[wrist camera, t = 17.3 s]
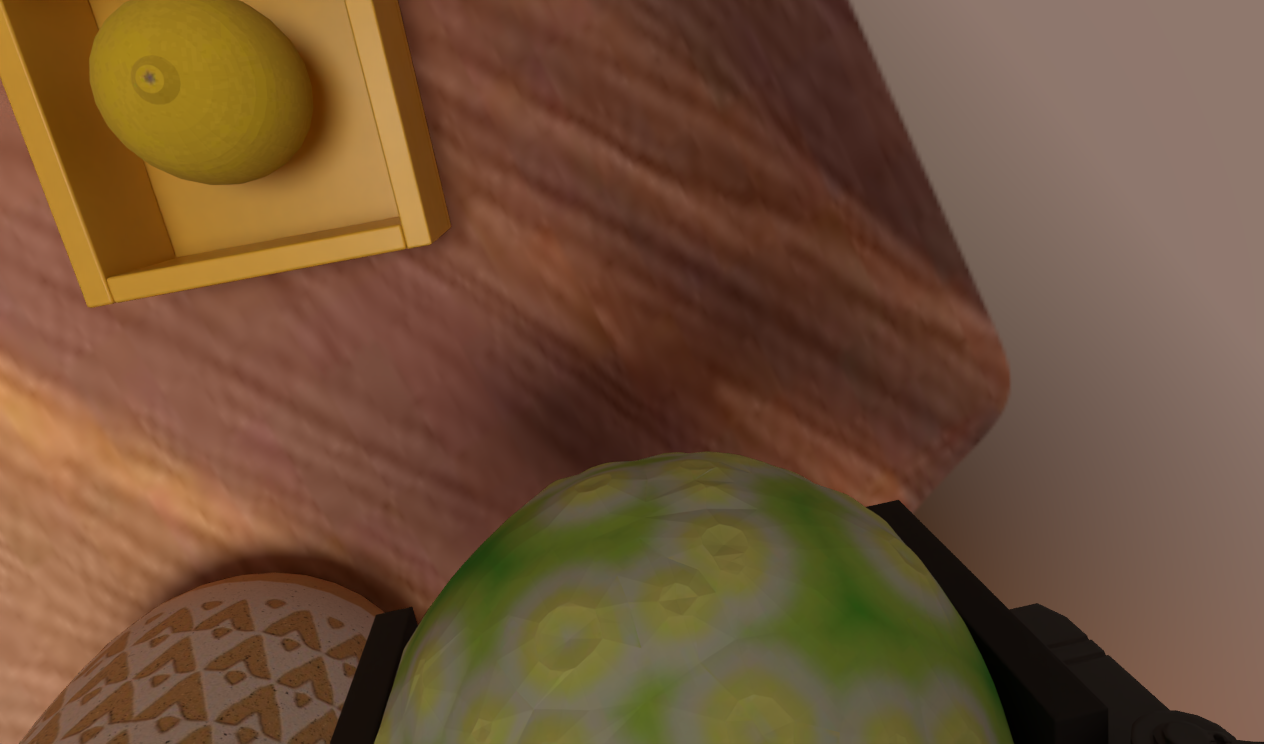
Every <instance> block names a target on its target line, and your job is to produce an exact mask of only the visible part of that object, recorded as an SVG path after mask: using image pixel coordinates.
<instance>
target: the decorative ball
mask: <svg viewBox="0 0 1264 744" xmlns="http://www.w3.org/2000/svg"><path fill="white" fill-rule="evenodd" d="M374 744H1014V742H1013V739H1012V735H1011V732H1010V729H1009V726H1008V722H1007V719H1006V716H1005V712H1004V709H1003V706H1002V704H1001V701H1000V698H999V695H998V693H997V690H996V687H995V685H994V682H993V680H992V678H991V675H990V673H989V671H988V669H987V666H986V664H985V662H984V660H983V658H982V655H981V654H980V652H979V650H978V648H977V646H976V644H975V642H974V640H973V638H972V636H971V634H970V632H969V630H968V628H967V626H966V624H965V623H964V621H963V620H962V618H961V617H960V615H959V614H958V612H957V611H956V609H955V608H954V606H953V605H952V603H951V602H950V600H949V599H948V597H947V596H946V594H945V593H944V591H943V590H942V588H941V587H940V585H939V584H938V583H937V581H936V580H935V579H934V577H933V576H932V575H931V573H930V572H929V571H928V569H927V568H926V567H925V565H924V564H923V563H922V561H921V560H920V559H919V558H918V556H917V555H916V554H915V553H914V552H913V551H912V550H911V549H910V548H909V547H908V546H906V545H905V543H904V542H903V541H902V540H901V539H900V537H899V536H898V535H897V534H896V533H895V532H894V530H893V529H892V528H891V527H890V526H889V524H888V523H887V522H886V521H885V520H883V519H882V518H881V517H880V516H878V515H877V514H875V513H874V512H872V511H871V510H869V509H868V508H866V507H864V506H863V505H862V504H860V503H859V502H857V501H856V500H855V499H853V498H851V497H850V496H848V495H847V494H844V493H841V492H838V491H835V490H832V489H829V488H826V487H823V486H820V485H817V484H814V483H813V482H811V481H809V480H808V479H806V478H804V477H802V476H800V475H799V474H796V473H794V472H792V471H789V470H786V469H783V468H779V467H776V466H772V465H770V464H767V463H765V462H762V461H759V460H755V459H751V458H748V457H745V456H742V455H736V454H730V453H720V452H698V453H690V454H688V453H681V452H674V453H664V454H660V455H656V456H652V457H648V458H645V459H641V460H637V461H624V462H610V463H604V464H601V465H598V466H595V467H592V468H589V469H588V470H586V471H584V472H582V473H580V474H579V475H576V476H571V477H567V478H563V479H559V480H557V481H555V482H553V483H551V484H550V485H549V486H548V487H546V488H545V489H544V490H543V491H541V492H540V493H539V494H538V495H537V496H535V497H534V498H533V499H532V500H530V501H529V502H528V503H527V504H526V505H524V506H523V507H522V508H521V509H519V510H518V511H517V512H516V513H515V514H513V515H512V516H511V517H510V518H508V519H507V520H506V521H505V522H504V523H503V524H502V525H501V526H500V527H499V528H498V529H497V530H496V531H495V532H494V533H493V534H492V535H491V536H490V537H489V538H488V539H487V540H486V541H485V542H484V543H483V544H482V545H481V546H480V547H479V548H478V549H477V550H476V551H475V552H474V553H473V554H472V555H471V556H470V558H469V559H468V560H467V561H466V562H465V563H464V564H463V565H462V566H461V568H460V569H459V570H458V571H457V572H456V573H455V575H454V576H453V577H452V578H451V579H450V581H449V582H448V583H447V585H446V586H445V587H444V589H443V590H442V591H441V593H440V594H439V595H438V597H437V598H436V599H435V601H434V602H433V603H432V605H431V606H430V608H429V609H428V611H427V612H426V614H425V615H424V617H423V619H422V620H421V622H420V624H419V625H418V627H417V628H416V630H415V632H414V633H413V635H412V637H411V638H410V640H409V641H408V643H407V645H406V646H405V648H404V650H403V654H402V657H401V660H400V664H399V667H398V671H397V674H396V677H395V681H394V684H393V687H392V691H391V693H390V696H389V699H388V702H387V706H386V709H385V712H384V715H383V719H382V722H381V725H380V728H379V731H378V734H377V737H376V739H375V742H374Z"/></svg>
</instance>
